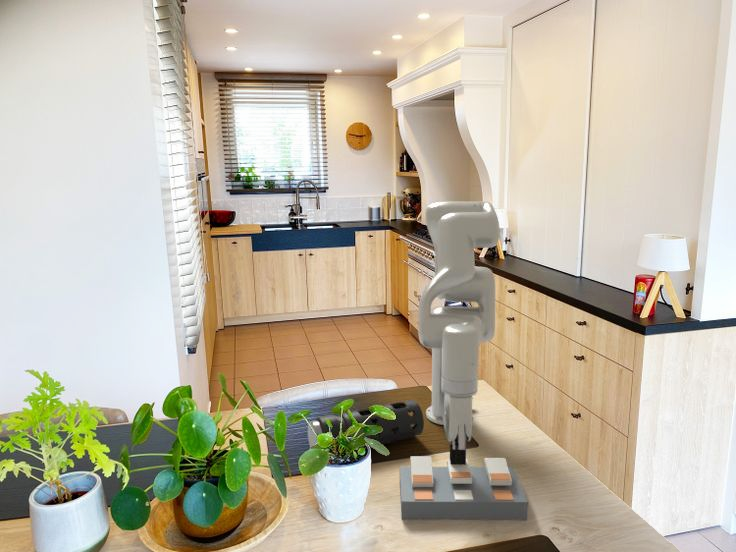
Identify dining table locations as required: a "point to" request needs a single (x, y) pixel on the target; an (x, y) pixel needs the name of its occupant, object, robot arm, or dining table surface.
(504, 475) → the switch
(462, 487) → the console
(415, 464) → the switch
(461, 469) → the switch
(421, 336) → the robot arm
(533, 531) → the dining table surface
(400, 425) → the muzzle brake
